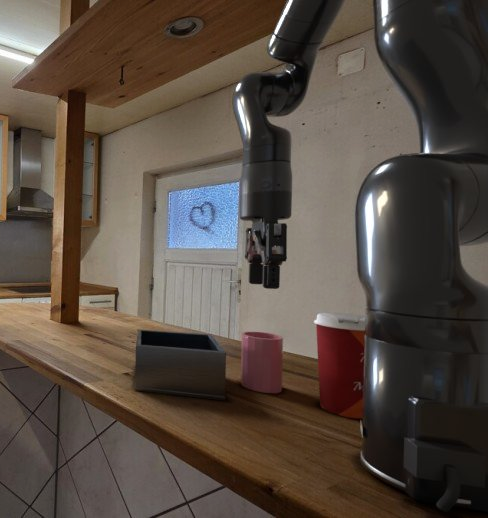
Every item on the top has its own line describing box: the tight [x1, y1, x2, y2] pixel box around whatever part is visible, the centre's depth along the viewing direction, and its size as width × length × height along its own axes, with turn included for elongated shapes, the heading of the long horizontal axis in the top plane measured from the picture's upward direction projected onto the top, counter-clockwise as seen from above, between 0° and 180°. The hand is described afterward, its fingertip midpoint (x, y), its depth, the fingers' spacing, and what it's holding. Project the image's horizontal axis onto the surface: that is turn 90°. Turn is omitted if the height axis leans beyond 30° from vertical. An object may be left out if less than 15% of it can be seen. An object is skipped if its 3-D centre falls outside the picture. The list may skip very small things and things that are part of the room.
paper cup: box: [313, 312, 365, 420], centre depth 55 cm, size 8×8×14 cm
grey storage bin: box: [134, 329, 227, 402], centre depth 67 cm, size 14×14×8 cm
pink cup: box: [240, 331, 284, 394], centre depth 64 cm, size 6×6×9 cm
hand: (262, 286), depth 64 cm, fingers open, 8 cm apart
